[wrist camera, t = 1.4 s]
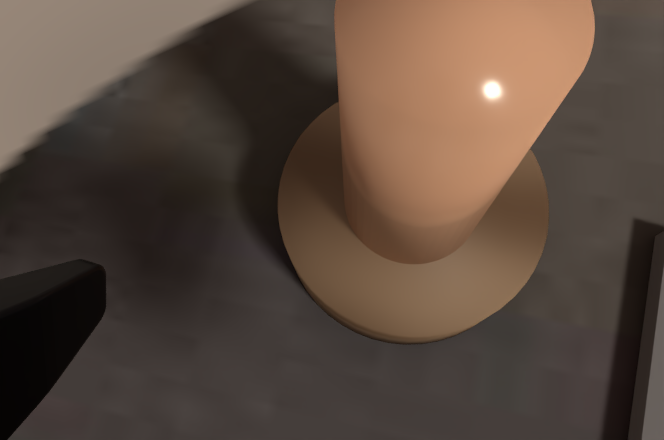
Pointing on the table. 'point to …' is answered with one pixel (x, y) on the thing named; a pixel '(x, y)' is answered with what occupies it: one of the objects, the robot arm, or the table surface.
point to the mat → (651, 358)
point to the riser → (397, 278)
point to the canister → (445, 109)
